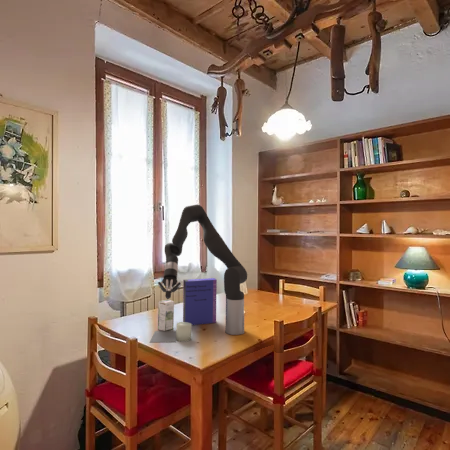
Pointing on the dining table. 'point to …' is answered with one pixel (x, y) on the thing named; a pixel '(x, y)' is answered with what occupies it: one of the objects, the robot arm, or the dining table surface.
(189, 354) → the dining table surface
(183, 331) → the pillar candle
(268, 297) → the dining table surface
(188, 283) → the purple book
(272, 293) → the dining table surface
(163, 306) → the syrup box
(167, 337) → the felt mat
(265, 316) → the dining table surface
